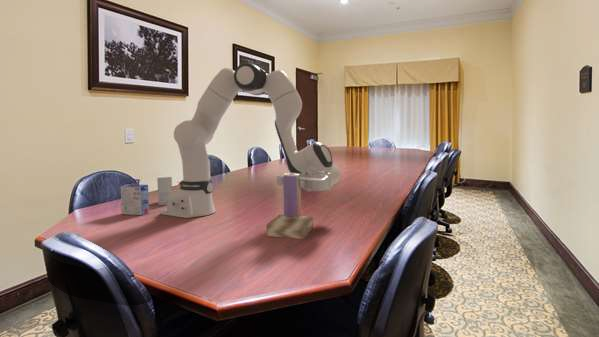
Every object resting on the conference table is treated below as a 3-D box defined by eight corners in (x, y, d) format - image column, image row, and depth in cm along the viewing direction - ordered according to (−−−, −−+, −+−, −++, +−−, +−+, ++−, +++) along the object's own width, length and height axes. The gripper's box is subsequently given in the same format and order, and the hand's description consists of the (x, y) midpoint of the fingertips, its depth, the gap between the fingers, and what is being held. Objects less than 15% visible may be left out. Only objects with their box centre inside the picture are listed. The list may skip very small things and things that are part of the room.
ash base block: (266, 235, 123) (266, 224, 122) (279, 225, 135) (279, 214, 135) (303, 239, 119) (303, 227, 119) (313, 227, 132) (313, 217, 131)
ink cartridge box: (150, 212, 155) (148, 179, 153) (142, 215, 150) (140, 181, 148) (130, 211, 157) (127, 178, 155) (121, 214, 152) (119, 180, 150)
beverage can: (289, 219, 122) (288, 175, 120) (280, 215, 127) (279, 173, 125) (304, 217, 125) (303, 174, 123) (295, 213, 130) (294, 172, 128)
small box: (173, 204, 170) (171, 177, 168) (158, 205, 168) (156, 177, 166) (172, 200, 177) (171, 174, 176) (158, 201, 175) (157, 175, 174)
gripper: (289, 168, 141) (265, 173, 130) (334, 173, 129) (313, 178, 118) (289, 184, 142) (266, 190, 131) (334, 190, 130) (313, 197, 119)
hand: (288, 185), depth 124 cm, fingers closed on beverage can, 2 cm apart
